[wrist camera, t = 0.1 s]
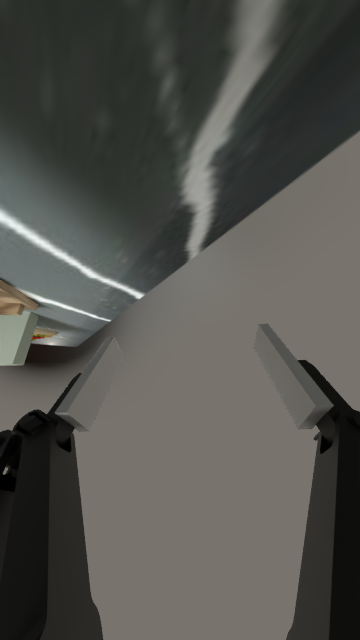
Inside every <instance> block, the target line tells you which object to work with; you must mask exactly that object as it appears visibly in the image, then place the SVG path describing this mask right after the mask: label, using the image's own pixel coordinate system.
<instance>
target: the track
mask: <svg viewBox="0 0 360 640" xmlns="http://www.w3.org/2000/svg"><path fill="white" fill-rule="evenodd" d="M37 308H38V304H37V303H35V302H34V301H32V300H31V299H29V298H28V297H26V296H25V295H23V294H22V293H20V292H19V291H17V290H15V289H14V288H12V287H11V286H9V285H8V284H6V283H5V282H3V281H2V280H0V315H18V316H21V315H22V312H23V309H25V310H37Z"/></svg>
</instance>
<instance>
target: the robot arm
mask: <svg viewBox="0 0 360 640" xmlns="http://www.w3.org/2000/svg"><path fill="white" fill-rule="evenodd" d="M254 349H255V351H256V353H257V355H258V357H259V358H260V360H261V362H262V364H263V365H264V367H265V369H266V371H267V373H268V375H269V377H270V379H271V381H272V383H273V384H274V386H275V388H276V390H277V392H278V394H279V395H280V397H281V399H282V401H283V403H284V405H285V407H286V409H287V410H288V412H289V414H290V416H291V418H292V420H293V422H294V423H295V425H296V427H297V429H312V428H313V427H314V426H315V425H317V427H318V429H319V430H320V432H319V433H318V434H317V435H316V436H315V437H314V440H317V439H318V444H317V451H316V458H315V466H314V473H313V481H312V488H311V496H310V504H309V511H308V518H307V525H306V533H305V540H304V548H303V556H302V563H301V571H300V578H299V585H298V593H297V600H296V607H295V615H294V621H293V624H292V627H291V629H290V631H289V632H288V635H287V639H286V640H360V412H359V411H356V410H353V409H352V408H351V407H350V406H349V405H348V404H347V403H346V401H345V400H344V399H343V398H342V397H341V396H340V395H339V394H338V392H337V391H336V390H335V389H334V388H333V387H332V386H331V385H330V383H329V382H328V381H326V379H325V378H324V377H323V376H322V375H321V374H320V372H319V371H318V370H317V369H316V368H315V367H314V366H313V365H312V364H310V363H309V362H307V361H306V360H297V359H296V358H295V357H294V356H293V355H292V353H291V352H290V351H289V349H288V348H287V347H286V346H285V344H284V343H283V342H282V341H281V339H280V338H279V337H278V336H277V334H276V333H275V332H274V331H273V329H272V328H271V327H270V326H269V324H259V325H258V329H257V334H256V338H255V343H254ZM123 358H124V355H123V353H122V351H121V348H120V347H119V345H118V343H117V341H116V339H115V337H107V338H106V339H105V341H104V342H103V343H102V345H101V346H100V348H99V349H98V351H97V352H96V354H95V355H94V356H93V358H92V359H91V361H90V362H89V364H88V365H87V367H86V368H85V370H84V371H83V372H82V373H79V374H78V375H77V376H75V377H74V378H73V379H72V381H71V382H70V384H69V385H68V387H67V388H66V389H65V390H64V393H62V395H61V396H60V397H59V399H58V400H57V401H56V403H55V404H54V406H53V407H52V408H51V410H50V411H49V412H48V414H45V413H44V412H42V411H41V410H33V411H31V412H29V413H28V414H26V415H25V416H23V417H22V418H21V419H20V420H19V421H18V422H17V423H16V425H15V426H14V428H13V431H11V430H5V431H2V432H0V640H103V635H102V627H101V621H100V616H99V612H98V609H97V607H96V606H95V604H94V603H93V601H92V597H91V592H90V583H89V573H88V564H87V554H86V545H85V536H84V526H83V517H82V506H81V497H80V487H79V478H78V469H77V460H76V449H75V440H74V434H73V433H72V432H73V430H74V428H75V429H77V430H78V431H90V429H91V427H92V425H93V423H94V421H95V419H96V417H97V414H98V412H99V410H100V408H101V406H102V404H103V401H104V399H105V397H106V395H107V393H108V391H109V389H110V386H111V384H112V382H113V380H114V378H115V375H116V373H117V371H118V369H119V367H120V365H121V362H122V360H123ZM5 467H7V468H8V471H7V473H6V474H5V475H3V471H4V469H5Z"/></svg>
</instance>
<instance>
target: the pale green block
mask: <svg viewBox="0 0 360 640" xmlns="http://www.w3.org/2000/svg"><path fill="white" fill-rule="evenodd" d="M38 318H39V316H37V315H35V314H33V313H31V312H22V315H21V316H18V315H0V366H2V365H3V366H4V365H23V364H24V362H25V359H26V356H27V352H28V349H29V346H30V343H31V340H32V337H33V333H34V330H35V327H36V324H37V321H38Z"/></svg>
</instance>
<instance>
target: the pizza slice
mask: <svg viewBox="0 0 360 640" xmlns="http://www.w3.org/2000/svg"><path fill="white" fill-rule="evenodd" d="M57 333H58V332H56V331H51V330H45V329H39V328H35V330H34V333H33V337H32V340H36V339H40V338H45V337H51V336H53V335H56V334H57ZM32 340H31V341H32Z"/></svg>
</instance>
